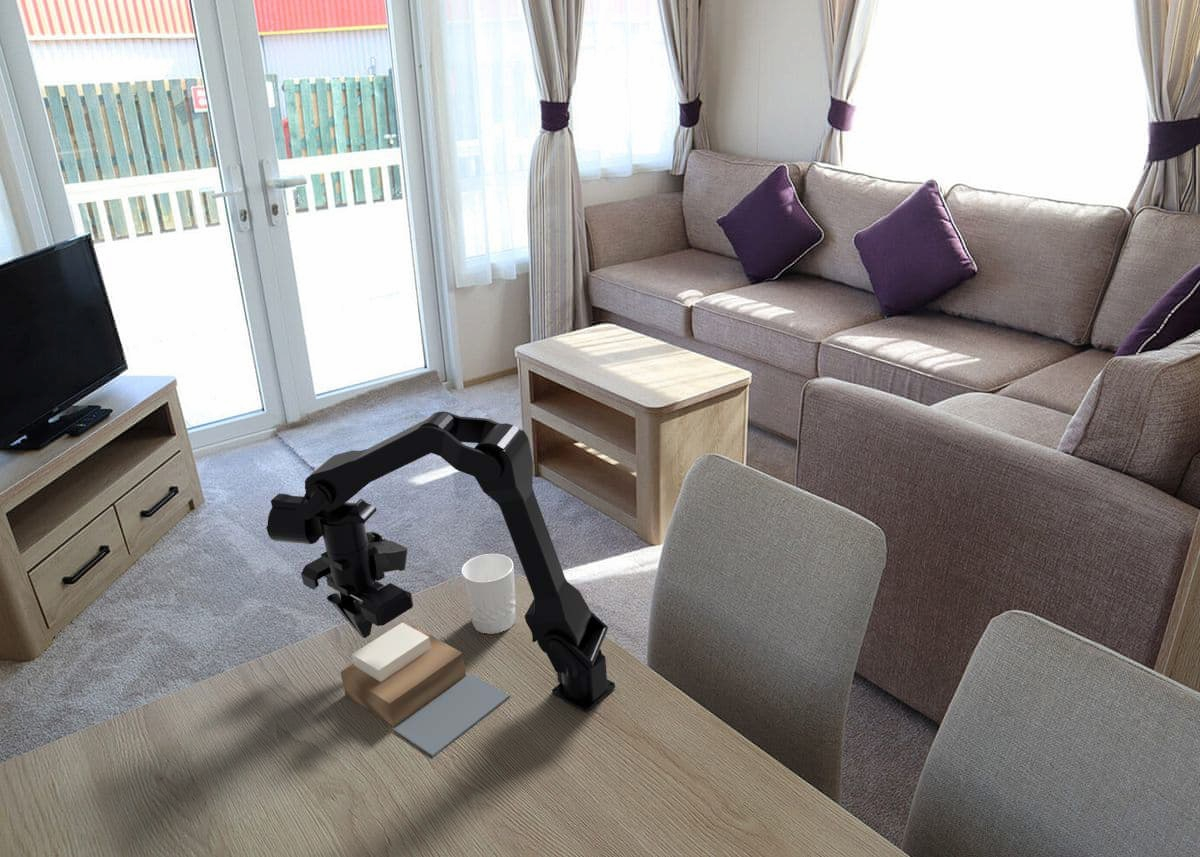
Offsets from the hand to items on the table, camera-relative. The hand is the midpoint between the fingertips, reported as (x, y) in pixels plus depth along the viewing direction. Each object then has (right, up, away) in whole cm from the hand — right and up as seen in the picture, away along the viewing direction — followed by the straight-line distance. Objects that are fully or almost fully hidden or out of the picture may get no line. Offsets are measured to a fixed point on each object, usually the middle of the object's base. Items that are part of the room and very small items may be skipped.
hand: (365, 635), depth 135 cm
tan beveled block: (+7, -6, -3) cm, 10 cm away
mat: (+14, -8, -9) cm, 19 cm away
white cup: (+18, 0, +10) cm, 20 cm away
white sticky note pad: (+5, -2, -3) cm, 6 cm away
